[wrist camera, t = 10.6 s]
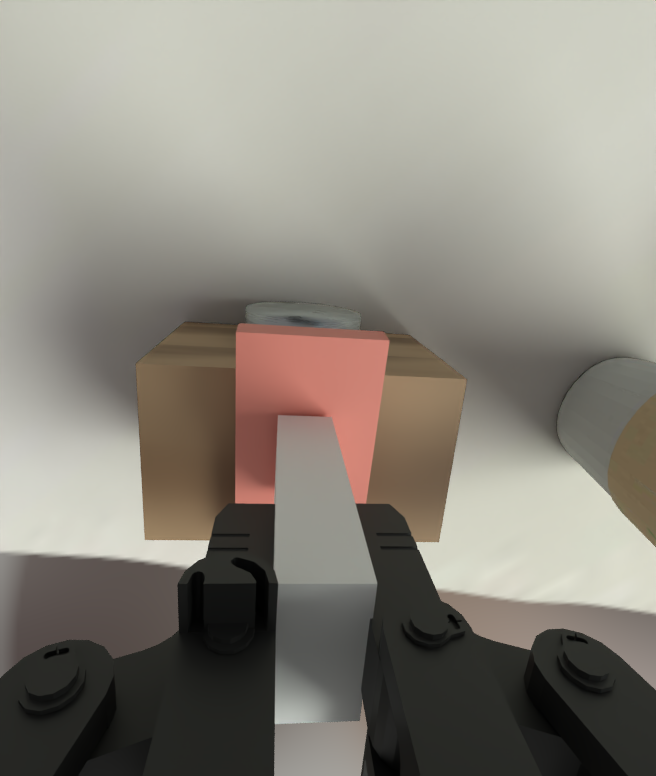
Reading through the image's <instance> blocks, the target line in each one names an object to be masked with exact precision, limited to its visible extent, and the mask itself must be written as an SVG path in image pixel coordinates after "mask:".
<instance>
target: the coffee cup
mask: <svg viewBox="0 0 656 776" xmlns="http://www.w3.org/2000/svg"><path fill="white" fill-rule="evenodd" d="M557 433H558V437H559V439H560V442H561V444H562V445H563V447H564V448H565V450H566V451H567V452H568V453H569V454H570V455H571V456H572V457H573V458H574V459H575V460H576V461H577V462H578V463H579V464H580V465H581V466H582V467H583V468H584V469H585V470H586V472H587V473H588V474H589V475H590V476H591V477H592V478H593V479H594V480H595V481H596V482H597V483H598V484H599V485H600V486H601V487H602V488H603V489H604V490H605V491H606V492H607V493H608V494H609V495H610V496H611V497H612V500H613V501H614V503H615V504H616V505H617V507H618V508H619V509H620V511H621V512H622V513H623V514H624V515H625V516H626V517H627V518H628V519H629V520H630V521H631V522H632V523H633V524H634V525H635V526H636V527H637V528H638V529H639V530H640V531H641V532H642V533H643V535H644V536H645V537H646V538H647V539H648V540H649V541H650V542H651V543H652V544H653V545H654V546H655V547H656V363H655V362H650V361H645V360H640V359H633V358H613V359H609V360H605V361H603V362H601V363H599V364H597V365H595V366H593V367H591V368H590V369H589V370H587V371H586V372H585V373H584V374H582V376H581V377H580V378H579V379H578V380H577V381H576V382H575V383H574V384H573V386H572V387H571V388H570V390H569V391H568V393H567V394H566V396H565V398H564V400H563V402H562V404H561V407H560V410H559V413H558V419H557Z"/></svg>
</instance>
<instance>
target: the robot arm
mask: <svg viewBox="0 0 656 776" xmlns="http://www.w3.org/2000/svg"><path fill="white" fill-rule="evenodd" d="M178 613H179V631H177V632H176V633H175V634H174V635H173V636H172V637H170V638H168V639H167V640H165V641H163V642H162V643H160V644H158V645H156V646H153V647H151V648H148V649H146V650H143V651H140V652H136V653H133V654H129V655H126V656H122V657H119V658H116V659H113V658H112V657H111V655H109V653H108V651H107V650H106V649H105V647H104V646H101V645H99V644H96V643H94V642H92V641H89V640H67V641H63V642H59V643H55V644H52V645H48V646H45V647H43V648H41V649H39V650H37V651H36V652H34V653H32V654H30V655H28V656H26V657H24V658H23V659H22V660H20V661H19V662H18V663H17V664H16V665H14V667H12V668H11V669H10V670H9V671H7V672H6V673H5V674H4V675H3V676H2V677H1V678H0V776H274V736H275V733H274V730H275V724H286V723H311V722H338V721H359V720H360V713H361V706H362V699H363V704H364V710H365V715H366V721H367V727H368V729H367V736H366V743H365V751H364V757H363V765H362V772H361V776H656V690H655V689H654V688H653V687H652V686H650V685H649V684H648V683H647V682H646V681H645V680H644V679H643V678H642V677H641V676H640V675H639V674H637V672H636V671H635V670H633V669H632V668H631V667H630V666H629V665H628V664H627V663H626V662H625V661H624V660H623V659H622V658H621V657H620V656H618V655H617V654H616V653H614V652H613V651H612V650H610V649H609V648H608V647H606V646H605V645H603V644H602V643H601V642H599V641H597V640H595V639H593V638H591V637H588V636H586V635H585V634H582V633H579V632H575V631H570V630H566V629H549V630H546V631H544V632H542V633H541V634H539V635H537V636H536V638H535V641H534V643H533V645H532V648H531V650H527V649H523V648H519V647H515V646H511V645H507V644H503V643H499V642H495V641H492V640H489V639H486V638H483V637H481V636H478V635H476V634H475V633H473V631H472V629H471V627H470V626H469V624H468V623H467V621H466V620H465V619H464V617H463V616H462V614H460V613H459V612H458V611H456V610H455V609H453V608H452V607H451V606H450V605H448V604H447V603H444V602H442V601H441V600H440V598H439V595H438V593H437V591H436V588H435V586H434V584H433V581H432V579H431V577H430V575H429V572H428V570H427V568H426V565H425V563H424V561H423V559H422V556H421V554H420V552H419V550H417V545H416V542H415V540H414V538H413V536H411V531H410V529H409V526H408V524H407V522H406V520H405V517H404V516H402V515H401V514H400V513H399V512H398V511H397V510H396V509H395V508H394V507H392V506H391V505H390V504H362V503H355V500H354V496H353V493H352V489H351V486H350V482H349V478H348V475H347V471H346V467H345V464H344V460H343V456H342V453H341V449H340V446H339V442H338V438H337V435H336V431H335V427H334V424H333V420H332V417H319V416H291V415H278V425H277V447H276V470H275V492H274V504H244V503H228V504H227V505H226V506H225V508H224V509H223V510H222V511H221V512H220V513H219V514H218V515H217V516H216V517H215V521H214V525H213V529H212V533H211V537H210V542H209V546H208V551H207V554H206V558H204V559H201V560H199V561H197V562H196V563H195V564H193V565H192V566H191V567H190V568H188V569H187V570H186V571H185V572H184V574H183V576H182V577H181V579H180V581H179V583H178Z"/></svg>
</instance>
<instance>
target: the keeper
mask: <svg viewBox="0 0 656 776" xmlns="http://www.w3.org/2000/svg"><path fill="white" fill-rule="evenodd" d="M389 342H390V340H389V339H388V337H387V336H386V334H385V333H384V332H383V331H366V330H348V329H331V328H314V327H297V326H279V325H262V324H245V323H239V324H238V327H237V330H236V434H235V503H244V504H274V492H275V470H276V447H277V425H278V415H291V416H319V417H332V420H333V424H334V427H335V431H336V435H337V438H338V442H339V446H340V449H341V453H342V456H343V460H344V464H345V467H346V471H347V475H348V478H349V482H350V486H351V489H352V493H353V496H354V500H355V503H362V504H366V500H367V494H368V487H369V480H370V473H371V466H372V459H373V452H374V445H375V438H376V431H377V425H378V418H379V411H380V404H381V397H382V390H383V383H384V376H385V369H386V362H387V355H388V349H389Z"/></svg>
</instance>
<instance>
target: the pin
mask: <svg viewBox="0 0 656 776" xmlns="http://www.w3.org/2000/svg"><path fill="white" fill-rule="evenodd" d="M360 323H361V314H360V313H359V312H357V311H354V310H351V309H347V308H342V307H337V306H330V305H323V304H314V303H300V302H262V303H254V304H250V305H247V306H246V324H262V325H279V326H297V327H314V328H331V329H348V330H360Z"/></svg>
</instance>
